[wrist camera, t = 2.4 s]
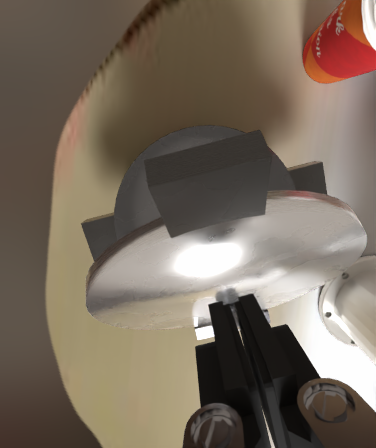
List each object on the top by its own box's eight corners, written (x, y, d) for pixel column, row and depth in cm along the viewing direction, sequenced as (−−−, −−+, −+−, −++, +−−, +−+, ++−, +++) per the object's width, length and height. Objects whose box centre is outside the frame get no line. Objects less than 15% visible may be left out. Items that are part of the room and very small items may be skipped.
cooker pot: (277, 109, 33) (319, 92, 23) (303, 263, 38) (347, 304, 28) (91, 158, 34) (53, 162, 24) (138, 303, 39) (123, 357, 29)
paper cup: (340, -3, 31) (465, -121, 17) (376, 62, 32) (517, 1, 19) (277, 49, 32) (349, -25, 18) (315, 110, 34) (407, 83, 20)
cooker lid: (461, 72, 10) (533, 135, 8) (319, 283, 28) (333, 315, 27) (-46, 205, 10) (-67, 286, 9) (138, 327, 29) (141, 360, 27)
